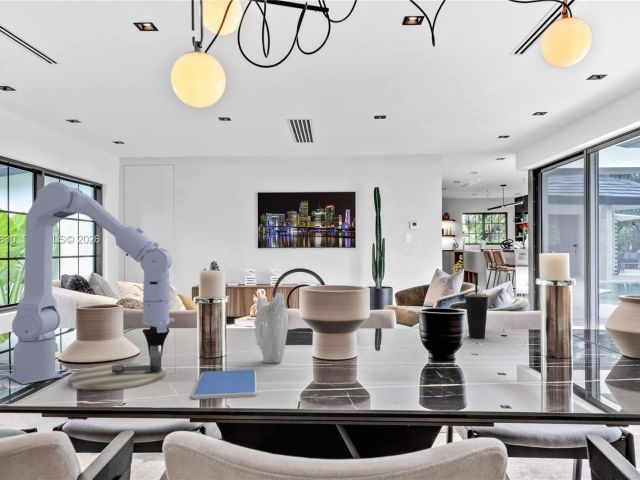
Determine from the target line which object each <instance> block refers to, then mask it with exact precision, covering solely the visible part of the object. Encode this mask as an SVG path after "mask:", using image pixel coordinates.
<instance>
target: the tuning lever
mask: <svg viewBox="0 0 640 480" xmlns="http://www.w3.org/2000/svg"><path fill="white" fill-rule="evenodd" d="M149 363H150V365H132V366H126V364H122V363H115V364H116V365H113V366H112V372H113V373H119V372H124V371H159V370H161V366H162V357H161V345H160V344H155V345H150V357H149Z"/></svg>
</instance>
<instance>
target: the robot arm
mask: <svg viewBox="0 0 640 480" xmlns="http://www.w3.org/2000/svg"><path fill="white" fill-rule="evenodd" d="M76 214H81V215H85V216H87V218H90V219H91V220H92V221H93V222H95V223H96V224H98V225H99V226H100V227H102V228H103V229H104V230H105V231H107V232H109V233H110V234H111V235H112V236H114V238H115V245H116V246H117V247H118V248H120V249H121V250H122V251H123V252H125V253H126V254H127V255H128V256H129V257H130V258H132V259H133V260H134V261H135V262H136V263H140V264H139V265H140V268H141V269H142V270H143V272H144V273H143V286H142V287H143V290H142V291H143V293H142V294H143V297H142V298H143V299H142V320H141V324H142V325H144V326H149V327H150V328H143V329H142V330H141V331H142V333H143V335H144V337H145V340H146V342H147V348H148V355H149V356H148V357H149V358H150V345H155V344H160V345H161V358H162V356H163V350H164V344H165V341H166V339H167V337H168V335H169V333H170V328H169V327H168V325H169V324H171V323H174V322H175V319H174V318H173V317H171V318H170V282H171V281H170V270H169V269H170V268H171V267H172V264H173V260H172V256H171V254H170V253H169V252H168V250H167V249H165V248H159V246H160V244H159V243H158V242H156V241H153V240H151V239H150V238H149V237H148V236H146V235H145V234H144V232H145V231H144V229H143V228H141V227H136V226H134V225H133V226H132V225H131V226H125V225H124V224H123V223H121V221H120V220H119V219H117V218H116V217H115V216H113V214H111V212H109V211H108V210H107V209H106V208H105V207H104V206H103V205H101V204H100V203H99V202H98V201H97V200H95V199H94V198H93V197H91V196H90V195H87V194H86V193H84V192H83V191H82V190H80V189H79V188H76V187H71V186H69V185H66V184H64V183H63V182H59V181H54V182H53V181H52V182H49V183H47V184H46V185H45V186H43V187H40V188H39V190H37V191H36V198H35V200H34V202H33V203H32V205H31V207H30V209H28V212H27V214H26V216H25V228H24V229H25V232H24V233H25V236H24V237H25V238H24V239H25V241H24V244H25V245H24V283H23V284H24V286H23V287H24V290H23V294H24V295H23V297H22V299H21V300H19V302H18V304H17V306H16V315H15V316H14V318H13V320H12V322H11V329H12V332H13V334H14V335H15V336H16V338H17V342H16V343H15V345H14V348H13V363H12V364H13V372H12V373H13V374H8V378H9V379H11V380H14V381H15V382H17V383H19V384H21V385H26V384H27V385H28V384H31V383H36V382H42V381H46V380H53V379H59V378H61V377H63V374H61V373H58V372H56V333H55V331H56V330H57V329H58V328H59V327H60V324H61V315H60V313H59V311H58V308H57V301H56V299H55V297H54V295H53V251H54V248H53V247H54V246H53V245H54V237H53V236H54V227H55V226H56V225H57V224H59V223H60V222H61V221H62V220H64V219H66V218H68V217H71V216H75V215H76Z"/></svg>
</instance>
